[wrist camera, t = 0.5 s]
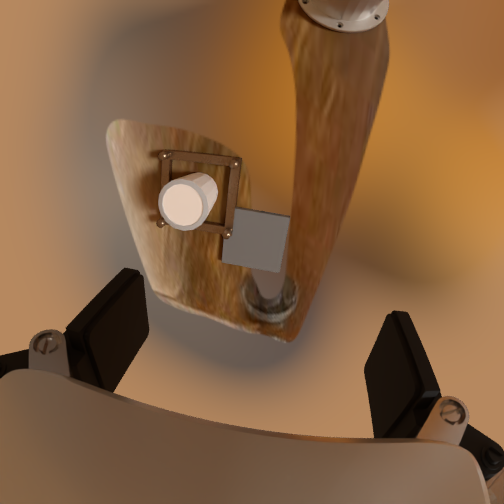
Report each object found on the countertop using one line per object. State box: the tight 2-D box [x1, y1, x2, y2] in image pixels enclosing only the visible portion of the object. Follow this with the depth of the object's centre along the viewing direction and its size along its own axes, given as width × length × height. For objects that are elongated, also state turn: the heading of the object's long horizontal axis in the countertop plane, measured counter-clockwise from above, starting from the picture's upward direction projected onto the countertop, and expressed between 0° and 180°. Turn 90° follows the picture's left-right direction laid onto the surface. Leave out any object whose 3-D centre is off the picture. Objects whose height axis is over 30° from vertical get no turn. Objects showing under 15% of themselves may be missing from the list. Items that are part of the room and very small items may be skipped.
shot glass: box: [158, 172, 218, 231], centre depth 40 cm, size 7×7×7 cm
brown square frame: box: [156, 149, 242, 239], centre depth 42 cm, size 11×11×2 cm
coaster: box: [222, 207, 290, 273], centre depth 45 cm, size 9×9×1 cm
